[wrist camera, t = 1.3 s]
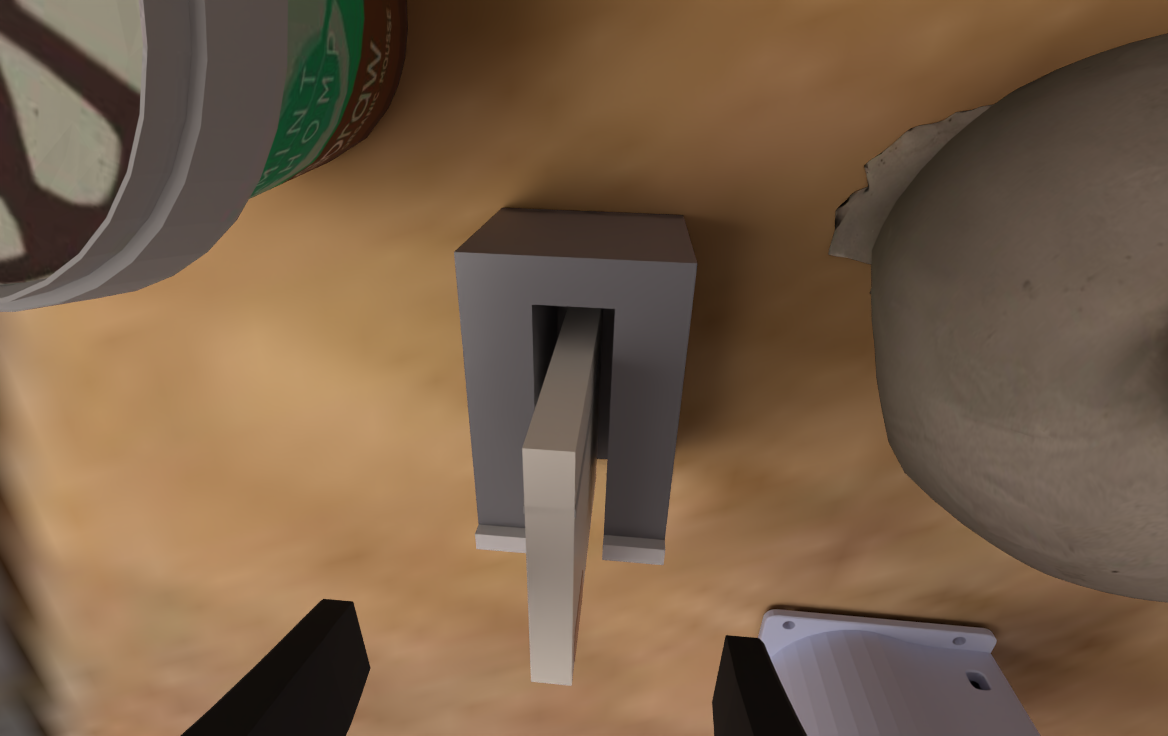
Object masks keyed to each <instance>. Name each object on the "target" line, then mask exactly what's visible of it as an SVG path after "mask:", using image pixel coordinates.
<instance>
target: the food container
mask: <svg viewBox="0 0 1168 736" xmlns="http://www.w3.org/2000/svg"><path fill="white" fill-rule="evenodd" d="M407 32H408V23H407V1H406V0H0V312H16V311H22V310H28V309H35V308H41V307H47V306H53V305H59V304H65V303H71V302H77V301H83V300H90V299H96V298H101V297H106V296H111V295H117V294H122V293H127V292H133V291H137V290H139V289H142V288H144V287H147V286H149V285H152V284H154V283H157V282H159V281H161V280H164V279H166V278H169V277H171V276H174V275H175V274H177V273H178V272H179V271H181V270H182V269H184V268H185V267H187V266H188V265H190V264H191V263H192V262H194V261H195V260H197V259H198V258H200V257H201V256H202V255H204V254H205V253H207V252H208V251H209V250H210V249H211V248H212V247H213V245H214V244H215V243H216V242H217V241H218V240H219V239H220V238H221V237H222V236H223V234H224V233H225V232H226V231H227V230H228V229H229V228H230V227H231V226H232V225H233V223H234V222H235V221H236V220H237V218H238V217H239V215H240V213H241V212H242V210H243V208H244V206H245V205H246V203H247V201H248V199H250V198H252V197H254V196H257V195H259V194H261V193H263V192H265V191H267V190H269V189H272V188H274V187H276V186H278V185H280V184H282V183H285V182H287V181H289V180H291V179H293V178H295V177H297V176H300V175H302V174H304V173H306V172H308V171H310V170H313V169H315V168H317V167H319V166H321V165H323V164H325V163H328V162H330V161H331V160H333V159H334V158H336V157H337V156H339V155H341V154H342V153H344V152H345V151H347V150H348V149H350V148H351V147H353V146H355V145H356V144H358V143H359V142H361V141H362V140H364V139H365V138H367V136H368V135H369V134H370V132H371V131H372V130H373V128H374V127H375V126H376V124H377V123H378V121H379V120H380V119H381V117H382V116H383V115H384V113H385V112H386V111H387V109H388V107H389V105H390V103H391V101H392V98H393V96H394V94H395V91H396V89H397V87H398V84H399V80H400V76H401V72H402V68H403V64H404V60H405V53H406V42H407Z"/></svg>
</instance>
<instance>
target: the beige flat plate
mask: <svg viewBox="0 0 1168 736" xmlns="http://www.w3.org/2000/svg"><path fill="white" fill-rule="evenodd" d="M601 333H602V308H587V307H569V306H568V309H567V312H566V315H565V318H564V321H563V324H562V327H561V331H560V334H559V337H558V340H557V343H556V346H555V349H554V352H553V355H552V358H551V361H550V364H549V367H548V370H547V374H546V377H545V380H544V383H543V386H542V389H541V392H540V395H539V398H538V401H537V404H536V407H535V410H534V413H533V417H532V420H531V423H530V426H529V429H528V432H527V435H526V438H525V441H524V444H523V447H522V457H523V482H524V504H523V514H525V534H526V560H527V586H528V612H529V638H530V664H531V682H541V683H550V684H560V685H570V686H572V678H573V670H574V662H575V655H576V647H577V638H578V630H579V621H580V612H581V604H582V593H583V584H584V576H585V567H586V559H587V550H588V542H589V533H590V525H591V516H592V507H593V499H594V490H595V482H596V464H597V438H598V412H599V385H600V359H601V349H602V341H601Z"/></svg>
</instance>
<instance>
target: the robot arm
mask: <svg viewBox="0 0 1168 736" xmlns="http://www.w3.org/2000/svg"><path fill="white" fill-rule="evenodd" d="M996 642H997V640H996V638H995V636H994V635H993V633H992V631H990V630H989V629H985V628H978V627H967V626H956V625H945V624H934V623H923V622H912V621H901V620H890V619H879V618H868V617H857V616H846V615H835V614H824V613H813V612H802V611H791V610H780V609H772V610H769V611H768V612H766V613H765V614H764V616H763V620H762V624H761V628H760V632H759V636H758V638H751V637H740V636H728V635H726V637H725V642H724V647H723V652H722V656H721V661H720V666H719V671H718V676H717V681H716V686H715V691H714V696H713V701H712V706H713V722H714V736H1040V734H1039V732H1038V731H1037V729H1036V727H1035V726H1034V724H1033V722H1032V721H1031V719H1030V717H1029V716H1028V714H1027V712H1026V711H1025V709H1024V707H1023V706H1022V704H1021V702H1020V701H1019V699H1018V697H1017V696H1016V694H1015V693H1014V691H1013V689H1012V688H1011V686H1010V684H1009V683H1008V681H1007V679H1006V678H1005V676H1004V674H1003V673H1002V671H1001V669H1000V668H999V666H998V664H997V663H996V661H995V659H994V658H993V656H992V655H991V652H992V650H993V648H994V646H995V645H996ZM369 671H370V665H369V661H368V657H367V653H366V649H365V645H364V641H363V638H362V634H361V630H360V626H359V622H358V618H357V615H356V611H355V607H354V603H353V602H352V601H341V600H330V599H323V600H322V601H320V602H319V603H318V604H317V605H316V606H315V607H314V608H313V609H312V610H311V611H310V612H309V613H308V614H307V615H306V616H305V617H304V618H303V619H302V620H301V621H300V622H299V623H298V624H297V625H296V626H295V627H294V628H293V629H292V630H291V631H290V632H289V633H288V634H287V635H286V636H285V637H284V638H283V639H282V640H281V641H280V642H279V643H278V644H277V645H276V646H275V647H274V648H273V649H272V650H271V651H270V652H269V653H268V654H267V655H266V656H265V657H264V658H263V659H262V660H261V661H260V662H259V663H258V664H257V665H256V666H255V667H254V668H253V669H252V670H250V671H249V672H248V673H247V674H246V675H245V676H244V677H243V678H242V679H241V680H240V681H239V682H238V683H237V684H236V685H235V686H234V687H233V688H232V689H231V690H230V691H228V692H227V693H226V694H225V695H224V696H223V697H222V698H221V699H220V700H219V701H218V702H217V703H216V704H215V705H214V706H213V707H212V708H211V709H210V710H208V711H207V712H206V713H205V714H204V715H203V716H202V717H201V718H200V719H199V720H197V721H196V722H195V723H194V724H193V725H192V726H191V727H190V728H189V729H187V730H186V731H185V732H184V733H183V734H182V735H181V736H346V734H347V732H348V730H349V727H350V725H351V722H352V720H353V717H354V714H355V711H356V709H357V706H358V703H359V700H360V697H361V694H362V692H363V689H364V686H365V683H366V680H367V677H368V674H369Z"/></svg>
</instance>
